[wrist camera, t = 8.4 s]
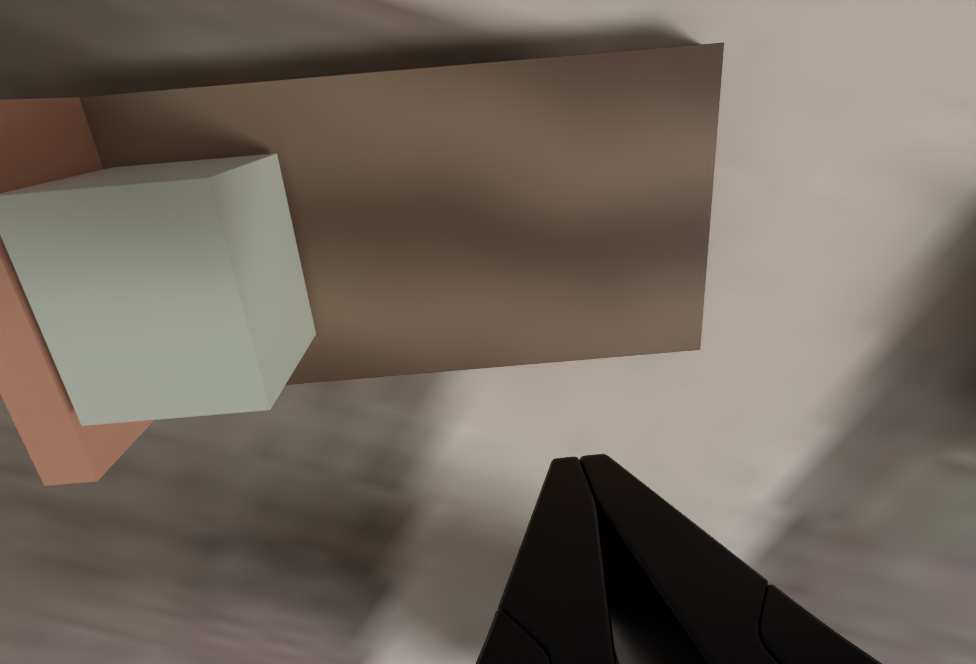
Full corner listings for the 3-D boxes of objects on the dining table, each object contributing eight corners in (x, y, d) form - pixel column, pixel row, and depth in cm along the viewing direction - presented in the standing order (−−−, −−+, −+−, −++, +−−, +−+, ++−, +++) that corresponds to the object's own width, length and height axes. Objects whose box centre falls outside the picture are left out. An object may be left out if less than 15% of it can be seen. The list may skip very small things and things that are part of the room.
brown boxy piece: (685, 333, 22) (766, 424, 16) (119, 381, 22) (-9, 490, 16) (704, 45, 18) (820, 26, 12) (14, 104, 18) (-207, 114, 12)
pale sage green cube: (316, 334, 20) (270, 409, 15) (171, 346, 20) (81, 425, 15) (276, 153, 17) (208, 177, 13) (112, 167, 17) (-16, 197, 13)
